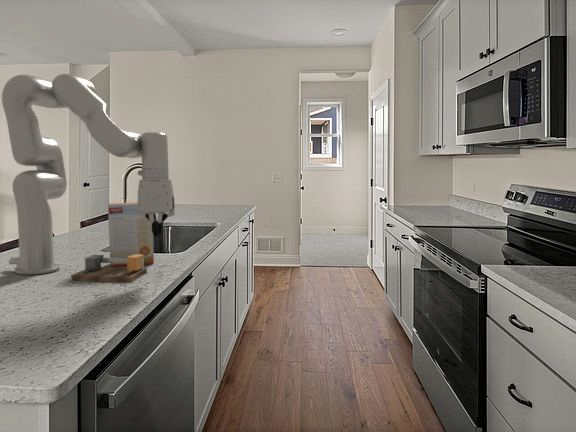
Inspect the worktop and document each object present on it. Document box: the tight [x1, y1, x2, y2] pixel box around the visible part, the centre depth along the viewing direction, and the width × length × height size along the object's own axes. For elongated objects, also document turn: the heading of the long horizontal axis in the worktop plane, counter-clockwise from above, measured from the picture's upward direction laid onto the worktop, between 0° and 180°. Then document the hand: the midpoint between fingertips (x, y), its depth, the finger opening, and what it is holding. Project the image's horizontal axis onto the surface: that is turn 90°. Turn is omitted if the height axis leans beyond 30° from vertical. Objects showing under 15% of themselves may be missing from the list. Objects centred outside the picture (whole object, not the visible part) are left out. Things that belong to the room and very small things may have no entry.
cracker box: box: [107, 202, 155, 267], centre depth 163 cm, size 14×6×21 cm, turn 113°
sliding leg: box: [126, 254, 144, 273], centre depth 145 cm, size 3×10×4 cm, turn 176°
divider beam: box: [84, 254, 145, 274], centre depth 146 cm, size 17×9×4 cm, turn 86°
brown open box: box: [70, 266, 148, 283], centre depth 145 cm, size 18×12×2 cm, turn 86°
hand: (157, 235), depth 145 cm, fingers closed
